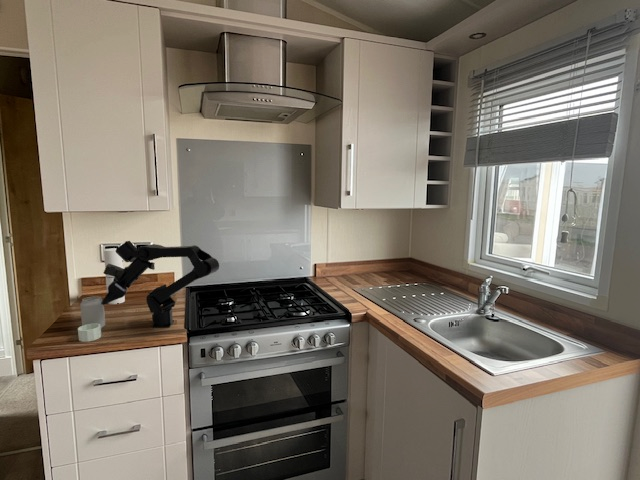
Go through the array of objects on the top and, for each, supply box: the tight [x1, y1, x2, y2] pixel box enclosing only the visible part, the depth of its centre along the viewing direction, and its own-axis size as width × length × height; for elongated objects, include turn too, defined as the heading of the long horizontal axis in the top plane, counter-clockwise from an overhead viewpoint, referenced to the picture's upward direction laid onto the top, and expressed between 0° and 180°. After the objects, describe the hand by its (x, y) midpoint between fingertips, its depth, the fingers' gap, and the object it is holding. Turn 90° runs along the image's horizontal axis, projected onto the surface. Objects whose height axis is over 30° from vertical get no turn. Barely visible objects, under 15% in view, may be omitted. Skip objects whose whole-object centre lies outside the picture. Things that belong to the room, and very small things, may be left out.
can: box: [79, 295, 106, 330], centre depth 138 cm, size 8×8×12 cm
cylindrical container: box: [103, 247, 126, 305], centre depth 169 cm, size 7×7×25 cm
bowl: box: [77, 323, 102, 343], centre depth 130 cm, size 7×7×4 cm
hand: (104, 300), depth 139 cm, fingers open, 9 cm apart
